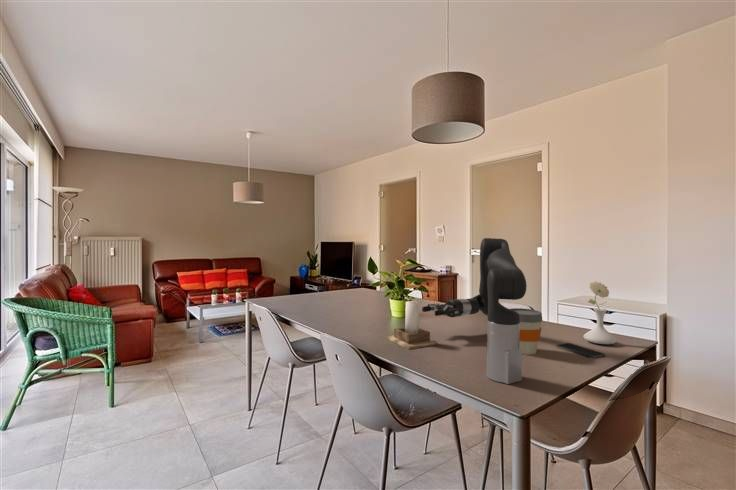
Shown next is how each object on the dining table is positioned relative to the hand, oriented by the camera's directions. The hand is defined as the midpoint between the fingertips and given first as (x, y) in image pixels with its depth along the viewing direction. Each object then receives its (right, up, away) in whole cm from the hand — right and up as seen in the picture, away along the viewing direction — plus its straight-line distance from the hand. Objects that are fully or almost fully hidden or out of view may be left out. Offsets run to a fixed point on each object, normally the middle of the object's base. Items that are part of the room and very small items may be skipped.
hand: (428, 311), depth 152 cm
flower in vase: (+70, -12, -2) cm, 71 cm away
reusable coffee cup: (+33, -12, -15) cm, 39 cm away
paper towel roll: (-8, -11, -4) cm, 14 cm away
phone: (+55, -13, -15) cm, 58 cm away
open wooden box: (-8, -12, -4) cm, 14 cm away
